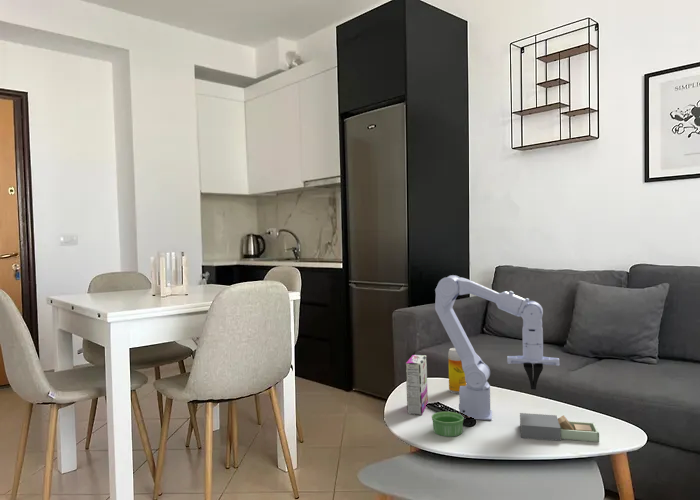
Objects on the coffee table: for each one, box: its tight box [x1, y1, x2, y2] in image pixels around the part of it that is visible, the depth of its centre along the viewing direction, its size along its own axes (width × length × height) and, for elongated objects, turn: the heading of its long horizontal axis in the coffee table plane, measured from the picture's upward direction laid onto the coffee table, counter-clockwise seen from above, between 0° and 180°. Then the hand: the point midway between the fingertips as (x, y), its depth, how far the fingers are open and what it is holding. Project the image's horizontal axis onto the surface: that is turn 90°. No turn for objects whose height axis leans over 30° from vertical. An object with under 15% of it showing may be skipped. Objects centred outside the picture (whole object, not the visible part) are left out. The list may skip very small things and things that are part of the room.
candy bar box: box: [405, 354, 429, 416], centre depth 170 cm, size 11×5×16 cm, turn 162°
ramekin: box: [431, 411, 465, 438], centre depth 150 cm, size 9×9×4 cm
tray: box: [559, 420, 600, 443], centre depth 145 cm, size 10×8×2 cm
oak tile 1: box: [557, 415, 574, 430], centre depth 146 cm, size 4×4×2 cm
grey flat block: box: [519, 412, 562, 441], centre depth 148 cm, size 10×10×4 cm
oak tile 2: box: [574, 424, 592, 432], centre depth 145 cm, size 4×4×2 cm
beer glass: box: [447, 347, 467, 394], centre depth 188 cm, size 6×6×15 cm
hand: (533, 388), depth 156 cm, fingers closed
